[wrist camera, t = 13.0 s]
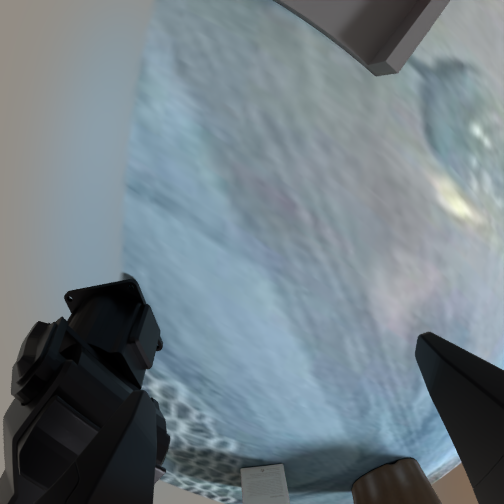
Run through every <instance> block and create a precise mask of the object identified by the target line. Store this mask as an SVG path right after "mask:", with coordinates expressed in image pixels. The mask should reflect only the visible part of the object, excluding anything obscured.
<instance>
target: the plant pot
mask: <svg viewBox="0 0 504 504" xmlns="http://www.w3.org/2000/svg"><path fill="white" fill-rule="evenodd" d="M351 491H352V495H353V500H354V504H442V503H441V501H440V500H439V498H438V496H437V494H436V493H435V491H434V489H433V488H432V486H431V484H430V482H429V481H428V479H427V477H426V476H425V474H424V472H423V470H422V469H421V467H420V465H419V463H418V462H417V460H415V459H402V460H398V461H397V462H396V463H395V464H391V465H389V464H386V465H383V466H381V467H379V468H377V469H375V470H372V471H370V472H368V473H367V474H365V475H364V476H362V477H361V478H360V479H358V480H357V481H356V482H355V483H354V484H353V488H352V489H351Z"/></svg>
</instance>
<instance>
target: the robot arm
mask: <svg viewBox="0 0 504 504" xmlns="http://www.w3.org/2000/svg"><path fill="white" fill-rule="evenodd" d="M129 285H132V286H133V287H134V288H131V287H130V286H129ZM69 296H70V297H72V299H71V298H70V297H69ZM64 299H65V301H66V303H67V305H68V307H69V309H70V311H71V313H72V314H71V316H70V317H69V319H68V321H66V320H65V319H64V318H63V317H61V318H60V319H58V320H57V321H56V322H53V323H52V324H50V323H44V322H41V321H38V322H37V323H36V324H35V325H34V326H33V328H32V329H31V330H30V332H29V334H28V335H27V337H26V338H25V340H24V341H23V343H22V345H21V348H20V351H19V355H18V358H17V361H16V363H15V364H14V366H13V370H12V383H11V395H13V396H14V397H15V399H14V400H13V402H12V403H11V405H10V407H9V408H8V410H7V412H6V413H5V416H4V419H3V435H4V457H5V471H4V472H3V474H2V476H1V478H0V504H153V493H154V484H155V483H156V482H157V481H158V480H159V479H160V478H161V477H162V476H163V475H164V474H165V473H166V469H165V468H163V467H162V464H163V462H164V460H165V457H166V454H167V452H168V449H169V444H170V436H169V435H168V434H167V430H166V421H165V418H164V416H163V415H162V413H161V412H160V409H159V404H158V402H157V401H156V400H155V399H153V398H150V397H149V395H148V393H147V392H146V391H145V390H140V389H141V388H142V383H143V379H144V375H145V371H146V369H150V368H151V367H152V365H153V361H154V356H155V352H156V351H160V350H161V349H162V347H163V342H162V340H161V337H160V329H159V326H158V324H157V322H156V319H155V317H154V315H153V312H152V310H151V307H150V306H149V305H148V304H146V302H145V299H144V297H143V294H142V292H141V289H140V287H139V284H138V282H137V281H136V280H134V279H128V280H123V281H118V282H113V283H108V284H102V285H97V286H92V287H87V288H82V289H76V290H72V291H68V292H67V293H66V294H65V296H64ZM157 344H158V345H157ZM415 357H416V361H417V363H418V366H419V368H420V371H421V373H422V376H423V379H424V381H425V384H426V387H427V389H428V392H429V394H430V396H431V399H432V401H433V403H434V405H435V407H436V409H437V411H438V413H439V415H440V417H441V419H442V421H443V423H444V425H445V427H446V429H447V431H448V433H449V435H450V438H451V440H452V442H453V444H454V446H455V448H456V451H457V453H458V455H459V457H460V459H461V462H462V464H463V466H464V468H465V471H466V473H467V476H468V478H469V480H470V483H471V485H472V487H473V490H474V493H475V495H476V498H477V501H478V503H479V504H504V370H502V369H500V368H498V367H496V366H495V365H493V364H491V363H489V362H487V361H485V360H483V359H481V358H479V357H477V356H476V355H474V354H472V353H470V352H468V351H466V350H464V349H462V348H460V347H458V346H457V345H455V344H453V343H451V342H449V341H447V340H445V339H443V338H441V337H439V336H437V335H436V334H434V333H432V332H426V333H423V334H420V335H419V336H418V339H417V344H416V350H415Z"/></svg>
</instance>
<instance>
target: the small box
mask: <svg viewBox="0 0 504 504" xmlns="http://www.w3.org/2000/svg"><path fill="white" fill-rule="evenodd" d="M240 471H241V485H242V498H243V504H290V501H289V495H288V489H287V483H286V477H285V471H284V466H283V464H276V465H268V466H259V467H250V468H241V469H240Z"/></svg>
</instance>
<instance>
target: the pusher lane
mask: <svg viewBox="0 0 504 504" xmlns="http://www.w3.org/2000/svg"><path fill="white" fill-rule="evenodd" d="M274 1H275V2H277V3H279V4H280V5H282V6H284V7H285V8H287V9H288V10H290V11H291V12H293V13H294V14H296V15H297V16H299V17H300V18H302V19H303V20H305V21H306V22H308V23H309V24H311V25H312V26H313V27H315V28H316V29H318V30H319V31H320V32H322V33H323V34H325V35H326V36H327V37H329V38H330V39H331V40H333V41H334V42H335V43H336V44H338V45H339V46H340V47H342V48H343V49H344V50H345V51H347V52H348V53H349V54H350V55H352V56H353V57H354V58H355V59H356V60H358V61H359V62H360V63H361V64H362V65H364V66H365V67H366V68H367V69H368V70H369V71H371V72H372V73H373V74H374V75H375V76H382V75H388V74H396V73H399V71H400V70H401V68H402V67H403V66H404V64H405V63H406V62H407V60H408V59H409V57H410V56H411V55H412V53H413V52H414V50H415V49H416V48H417V46H418V45H419V44H420V42H421V41H422V39H423V38H424V37H425V35H426V34H427V32H428V31H429V30H430V28H431V27H432V25H433V24H434V23H435V21H436V20H437V18H438V17H439V16H440V14H441V13H442V11H443V10H444V9H445V7H446V6H447V4H448V3H449V1H450V0H274Z"/></svg>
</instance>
